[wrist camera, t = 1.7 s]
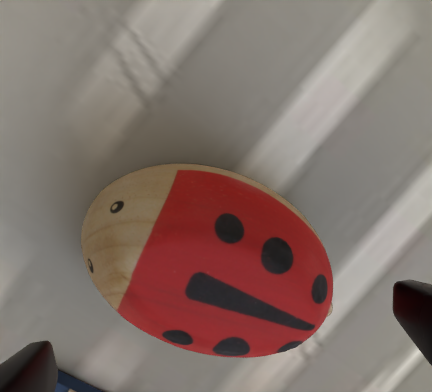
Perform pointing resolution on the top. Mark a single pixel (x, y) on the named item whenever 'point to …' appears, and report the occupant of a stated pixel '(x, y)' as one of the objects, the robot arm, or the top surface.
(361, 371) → the top surface
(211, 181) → the ladybug figurine
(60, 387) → the towel
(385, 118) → the top surface
